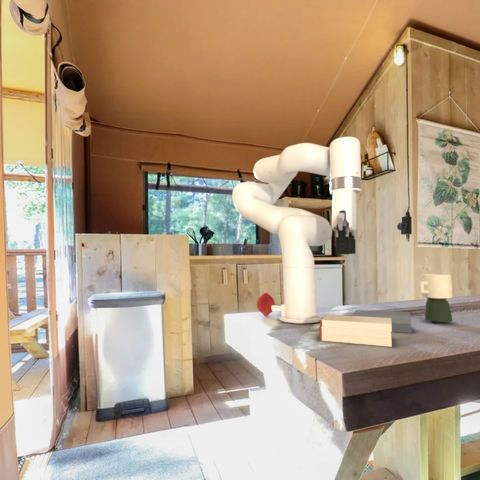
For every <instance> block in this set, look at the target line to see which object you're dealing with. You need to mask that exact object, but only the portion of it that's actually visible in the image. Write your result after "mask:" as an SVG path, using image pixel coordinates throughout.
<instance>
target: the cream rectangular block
mask: <svg viewBox="0 0 480 480" xmlns="http://www.w3.org/2000/svg"><path fill="white" fill-rule="evenodd" d="M318 332H319V341H321V342H331V343H332V342H333V343H343V344H344V343H345V344H354V345H355V344H356V345H367V346H377V347H378V346H379V347H387V348H388V347H389V348H392V347H393V343H392V342H393V341H392V339H393V338H392V332H391V331H376V330H362V329H348V328H333V327H321V326H320V325H319V328H318Z"/></svg>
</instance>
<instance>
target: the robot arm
mask: <svg viewBox="0 0 480 480" xmlns="http://www.w3.org/2000/svg"><path fill="white" fill-rule="evenodd" d="M361 155H362V153H361V142H360V140H359V139H358V138H357V137H354V136H342V137H338V138H335V139H334V140H332V141H331V142H330V144H329V146H324V145H321V144H316V143H313V142H302V143H297V144H292V145H289V146H286V147H285V148H284V149H283V150H282V151H281V153H280V154H276V155H271V156H266V157H263V158H261V159H259V160H257V161H256V162H255V164H254V166H253V169H252V171H253V176H254V177H255V178H256V179H257V180H258V181H259V182H255V181H242V182H240V183H238V184H236V185H235V186H234V188H233V189H232V194H231V197H232V202H233V205H234V207H235V210H236V212H237V213H239V215H241V217H244V219H246V220H248V221H250V222H252V223H254V224H256V225H257V226H259V227H260V228H262V229H264V230H266V231H267V232H269V233H271V234H274V235H277V236H278V240H279V244H280V249H281V261H282V263H281V264H282V285H283V287H282V288H283V303H281V305H277V304H275V305H272V307H271V310H272V313H280V314H279V316H278V319H279V321H281V322H284V323H289V324H314V323H315V324H316V323H320V319H322V318H323V315H321V314H319V313H318V311H317V291H316V289H317V288H316V287H317V286H316V266H315V257H314V254H313V251H312V250H311V247H321V246H324V245H326V244H327V243H329V241H330V240H331V238H332V235H333V232H335V254H336V255H355V254H356V253H357V252H356V233H355V232H356V230H357V225H358V222H357V221H358V209H357V205H358V204H357V203H358V201H357V194H360V193H362V163H361V162H362V161H361V160H362V158H361ZM299 172H305V173H310V174H315V175H320V176H325V177H328V176H329V194H330V195H332V200H331V224H330V222H329V221H328V219H327V218H325V217H324V216H321V215H319V214H316V213H313V212H311V211H308V210H307V209H306V210H305V209H302V208H300V207H299V208H298V207H291V206H290V207H289V206H278V205H275V203H277V202H278V200H279V198H280V197H281V196H282V195H283V193H284V192H285V190H286V189H287V188H288V186H290V183H291V182H292V180H293V179H294V178H295V177H296V176H297V175H298V173H299Z"/></svg>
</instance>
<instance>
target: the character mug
mask: <svg viewBox="0 0 480 480" xmlns="http://www.w3.org/2000/svg"><path fill="white" fill-rule="evenodd" d="M419 278H420V281H419V292H420V294H421V296H422V297H423V298H426V302H425V309H424V320H425V321H432V323H434V324H435V323H437V322H440V323H452V322H453V316H452V311H451V306H450V304H449V301H448V300H449V299H452V298H453V282H452V274H449V273H421V274H420V277H419Z"/></svg>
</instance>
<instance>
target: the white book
mask: <svg viewBox="0 0 480 480" xmlns="http://www.w3.org/2000/svg"><path fill="white" fill-rule="evenodd" d="M320 326H321V327H333V328H348V329H362V330H376V331H391V333H393V332H392V321H391V318H381V317H362V316H354V315H341V314H325V315H323V316H322V319H320V322H319V327H320Z"/></svg>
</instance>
